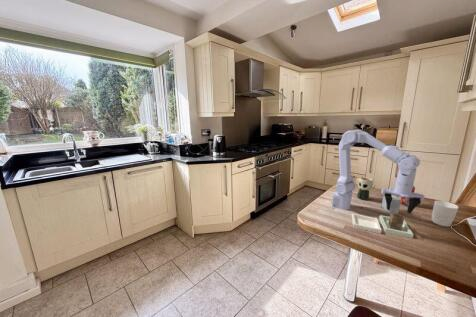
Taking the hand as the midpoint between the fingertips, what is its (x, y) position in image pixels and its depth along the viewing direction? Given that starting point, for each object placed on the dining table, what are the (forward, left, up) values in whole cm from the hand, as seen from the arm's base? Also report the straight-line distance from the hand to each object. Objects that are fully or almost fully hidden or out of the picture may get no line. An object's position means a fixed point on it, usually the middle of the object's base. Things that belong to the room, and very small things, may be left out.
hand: (398, 210), depth 87 cm
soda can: (+12, +33, -10) cm, 36 cm away
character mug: (-9, +31, -10) cm, 34 cm away
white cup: (+22, +16, -10) cm, 29 cm away
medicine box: (+2, +19, -10) cm, 21 cm away
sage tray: (0, 0, -9) cm, 9 cm away
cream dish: (-12, -3, -9) cm, 16 cm away
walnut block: (0, 0, -9) cm, 9 cm away
